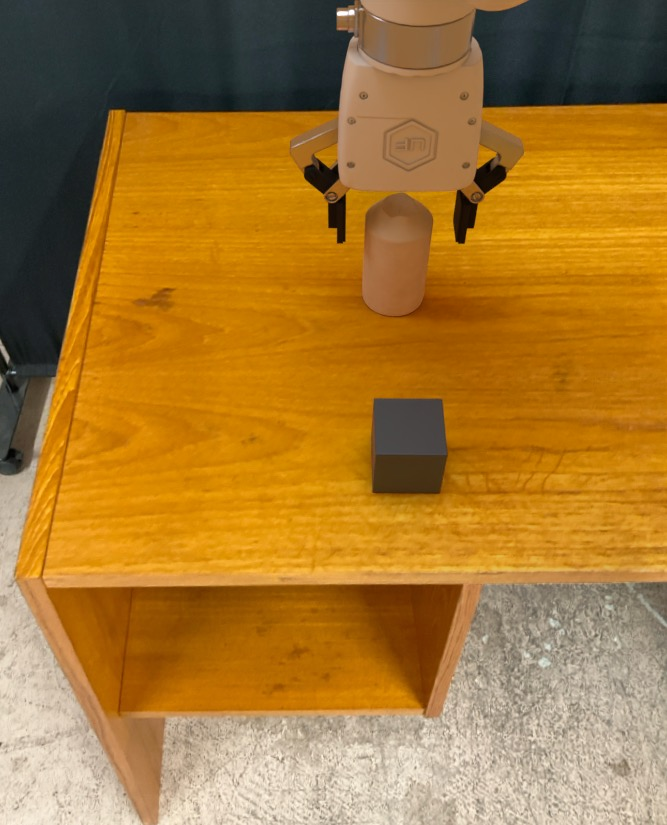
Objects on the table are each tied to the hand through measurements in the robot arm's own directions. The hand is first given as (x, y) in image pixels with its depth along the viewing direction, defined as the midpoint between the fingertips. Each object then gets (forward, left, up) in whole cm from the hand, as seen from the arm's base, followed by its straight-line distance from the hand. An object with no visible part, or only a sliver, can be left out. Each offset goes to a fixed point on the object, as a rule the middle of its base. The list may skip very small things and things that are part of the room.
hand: (399, 232), depth 67 cm
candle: (0, 0, -8) cm, 8 cm away
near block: (-5, +17, -7) cm, 19 cm away
